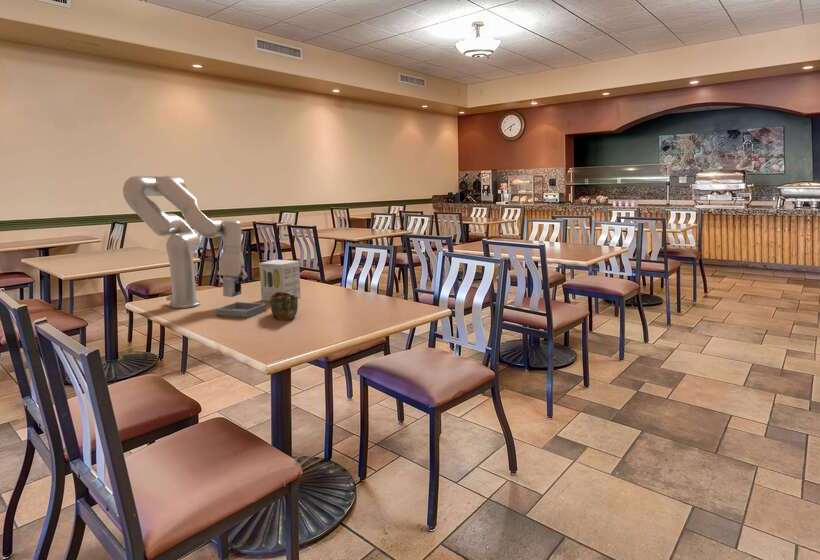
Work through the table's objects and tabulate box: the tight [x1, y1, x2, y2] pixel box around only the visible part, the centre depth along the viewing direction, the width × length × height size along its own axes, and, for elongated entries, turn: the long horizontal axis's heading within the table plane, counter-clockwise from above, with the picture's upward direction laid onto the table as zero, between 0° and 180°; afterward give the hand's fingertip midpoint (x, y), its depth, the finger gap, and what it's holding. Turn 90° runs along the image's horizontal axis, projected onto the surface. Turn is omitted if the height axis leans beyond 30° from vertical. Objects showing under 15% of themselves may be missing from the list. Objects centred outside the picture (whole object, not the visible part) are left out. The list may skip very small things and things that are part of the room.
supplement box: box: [259, 259, 301, 302], centre depth 242 cm, size 13×13×18 cm
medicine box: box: [222, 276, 242, 298], centre depth 227 cm, size 8×4×9 cm, turn 168°
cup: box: [269, 292, 299, 321], centre depth 208 cm, size 13×20×10 cm, turn 177°
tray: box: [215, 301, 267, 320], centre depth 214 cm, size 14×14×3 cm
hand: (232, 290), depth 228 cm, fingers closed on medicine box, 4 cm apart
